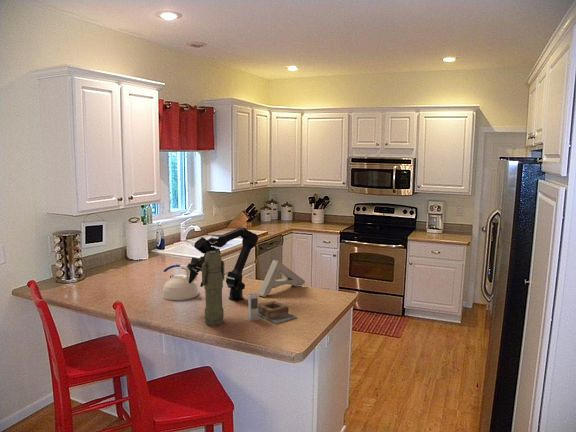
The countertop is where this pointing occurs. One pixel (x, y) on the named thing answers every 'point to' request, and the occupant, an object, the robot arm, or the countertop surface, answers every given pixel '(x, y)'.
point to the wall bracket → (273, 283)
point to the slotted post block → (275, 312)
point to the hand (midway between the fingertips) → (195, 284)
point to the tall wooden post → (253, 306)
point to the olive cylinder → (213, 288)
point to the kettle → (180, 286)
